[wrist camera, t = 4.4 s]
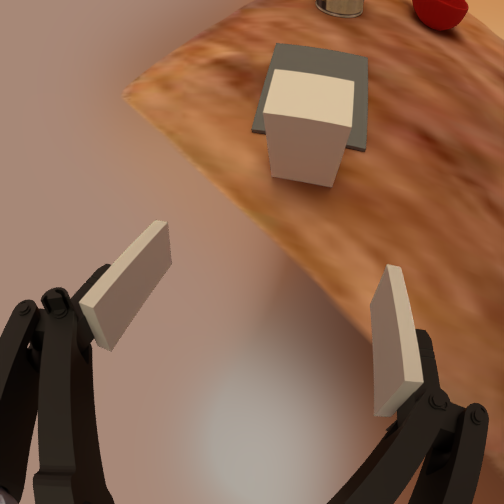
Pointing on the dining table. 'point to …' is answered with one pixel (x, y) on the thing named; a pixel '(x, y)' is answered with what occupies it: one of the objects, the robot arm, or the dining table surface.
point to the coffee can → (341, 7)
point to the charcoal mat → (323, 65)
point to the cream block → (307, 125)
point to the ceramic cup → (440, 12)
